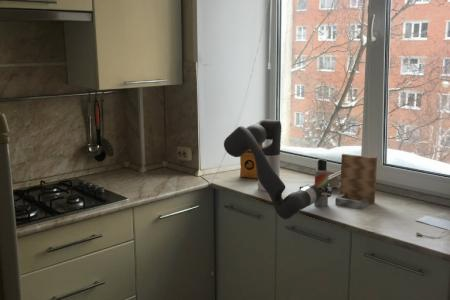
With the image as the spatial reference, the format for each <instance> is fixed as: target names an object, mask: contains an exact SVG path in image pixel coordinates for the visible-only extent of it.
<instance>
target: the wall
mask: <svg viewBox="0 0 450 300" xmlns="http://www.w3.org/2000/svg"><path fill="white" fill-rule="evenodd" d="M340 176H341V170H339V171H337V172H335V173H333V174H330V175H329V180H328V185H331V188H332V189H335V188H337V187H339V186H340V183H341V182H340V181H339V180H338V177H340ZM314 184H315V182H313V183H312V185H314Z"/></svg>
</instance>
